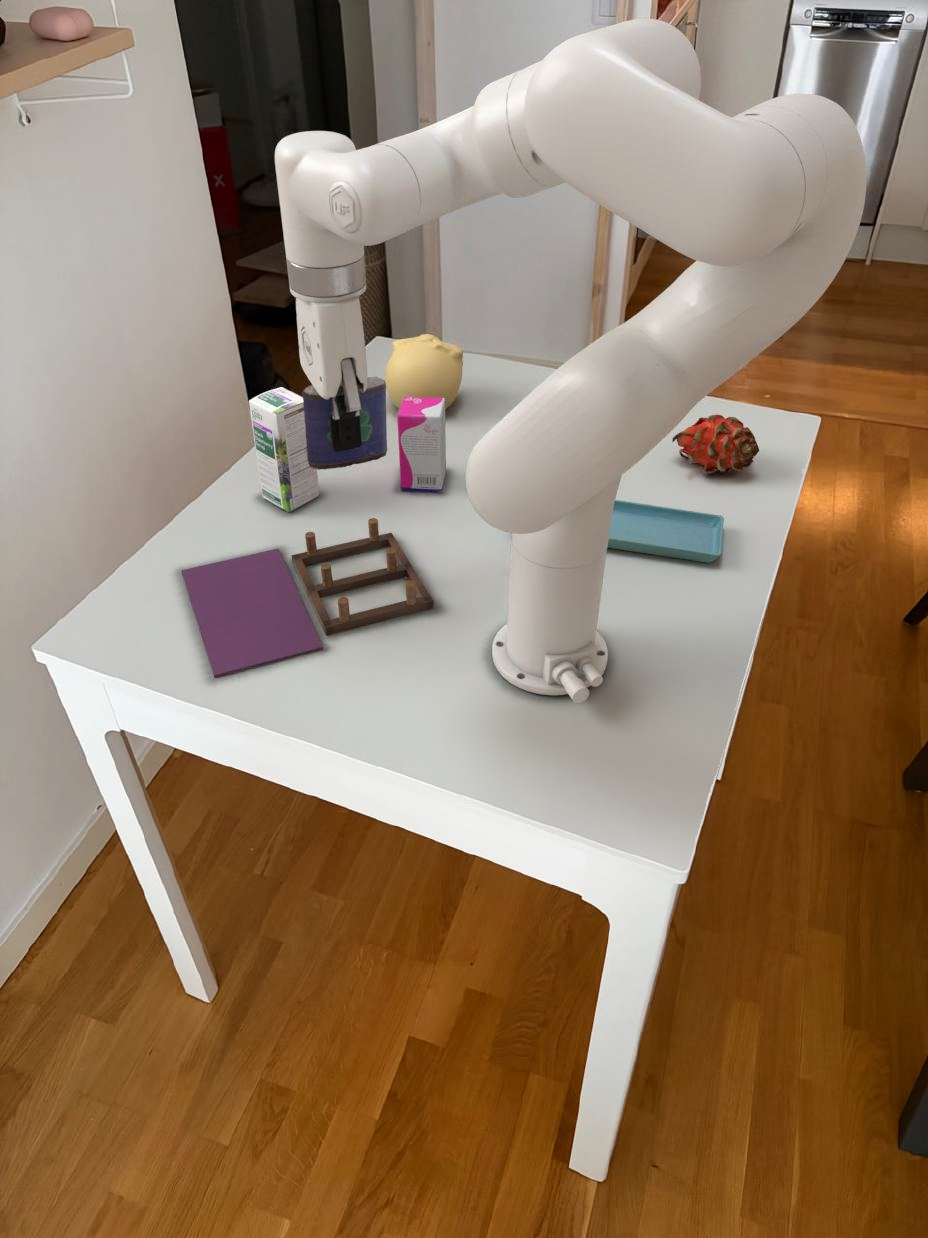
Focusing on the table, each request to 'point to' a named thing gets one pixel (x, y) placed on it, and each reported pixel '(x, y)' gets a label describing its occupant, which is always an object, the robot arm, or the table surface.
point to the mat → (249, 612)
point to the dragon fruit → (718, 444)
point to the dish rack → (360, 581)
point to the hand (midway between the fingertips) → (342, 439)
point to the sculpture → (424, 369)
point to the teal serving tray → (666, 531)
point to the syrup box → (282, 449)
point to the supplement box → (422, 444)
